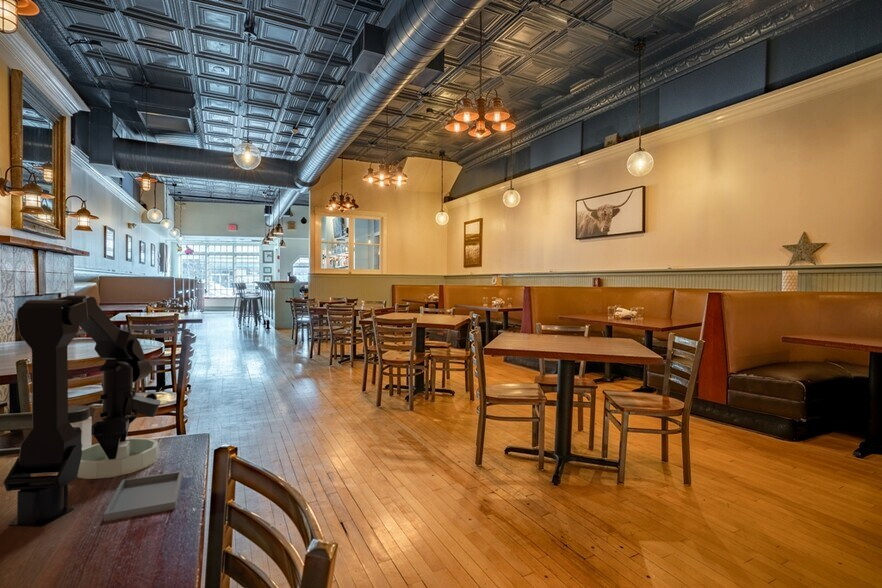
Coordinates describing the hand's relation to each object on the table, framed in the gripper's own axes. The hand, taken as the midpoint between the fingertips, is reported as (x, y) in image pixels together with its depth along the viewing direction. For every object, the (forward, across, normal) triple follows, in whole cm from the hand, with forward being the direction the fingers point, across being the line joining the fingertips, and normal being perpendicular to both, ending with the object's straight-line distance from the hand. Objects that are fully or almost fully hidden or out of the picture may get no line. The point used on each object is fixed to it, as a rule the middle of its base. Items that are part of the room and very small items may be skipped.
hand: (117, 453), depth 104 cm
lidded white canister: (+3, +12, +12) cm, 17 cm away
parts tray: (+3, -22, -9) cm, 24 cm away
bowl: (+3, 0, 0) cm, 3 cm away
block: (+2, 0, 0) cm, 3 cm away
